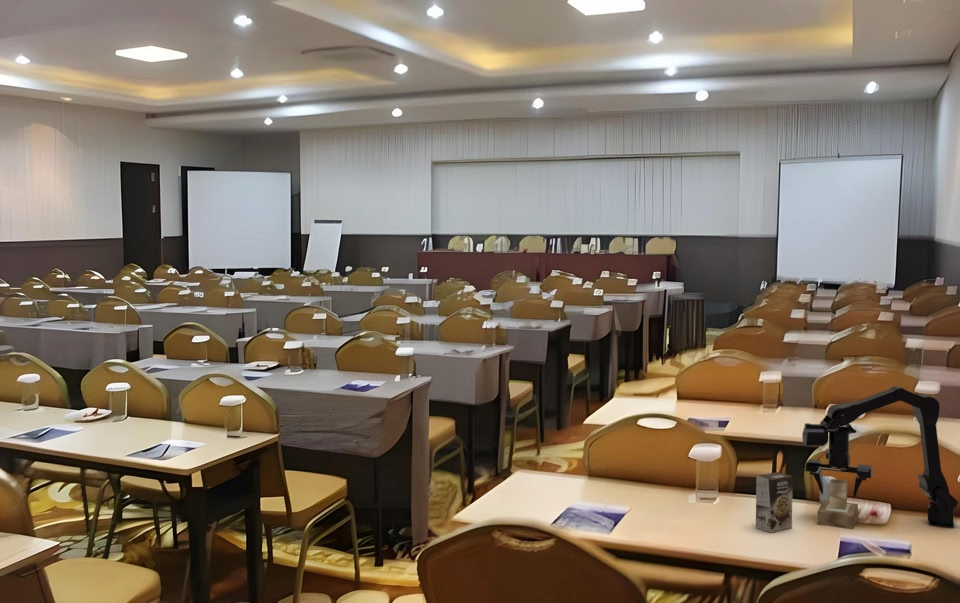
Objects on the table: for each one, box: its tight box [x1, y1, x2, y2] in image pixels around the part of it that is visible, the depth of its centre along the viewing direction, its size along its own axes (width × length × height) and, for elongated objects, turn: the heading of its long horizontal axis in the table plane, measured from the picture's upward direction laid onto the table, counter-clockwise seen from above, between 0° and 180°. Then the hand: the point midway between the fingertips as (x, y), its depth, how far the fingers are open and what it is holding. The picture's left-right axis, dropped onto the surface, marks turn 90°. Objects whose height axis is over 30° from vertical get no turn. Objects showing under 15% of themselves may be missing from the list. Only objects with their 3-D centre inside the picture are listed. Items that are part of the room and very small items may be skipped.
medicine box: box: [819, 475, 838, 504], centre depth 270 cm, size 8×4×9 cm, turn 179°
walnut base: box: [817, 500, 859, 530], centre depth 254 cm, size 10×14×4 cm
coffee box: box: [755, 471, 794, 534], centre depth 247 cm, size 9×6×16 cm
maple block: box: [829, 478, 848, 510], centre depth 254 cm, size 4×4×8 cm
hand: (838, 495), depth 254 cm, fingers open, 9 cm apart
